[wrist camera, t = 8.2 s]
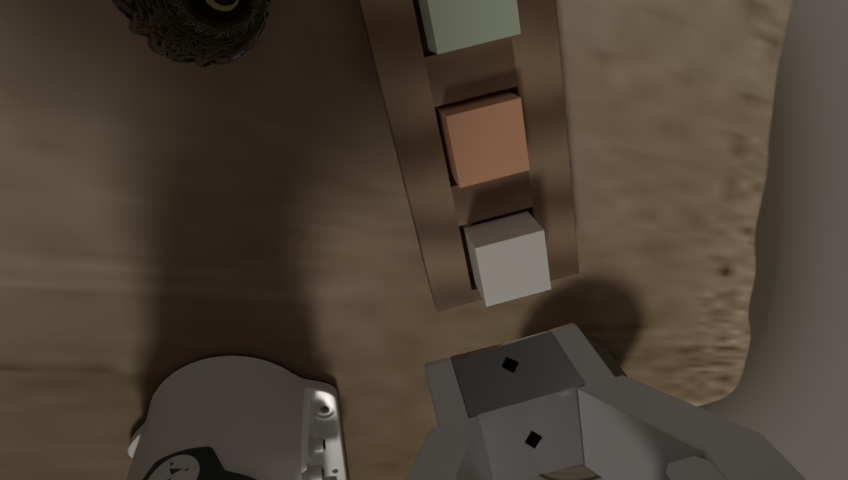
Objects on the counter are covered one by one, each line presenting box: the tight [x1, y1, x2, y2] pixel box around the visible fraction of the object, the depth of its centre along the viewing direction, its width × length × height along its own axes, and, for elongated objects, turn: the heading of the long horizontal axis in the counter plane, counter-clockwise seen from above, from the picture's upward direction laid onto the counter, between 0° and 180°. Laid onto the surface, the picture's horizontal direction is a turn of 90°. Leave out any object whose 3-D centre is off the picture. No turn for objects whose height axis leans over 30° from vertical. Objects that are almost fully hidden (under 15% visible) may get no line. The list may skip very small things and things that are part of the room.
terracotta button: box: [437, 89, 530, 188], centre depth 35 cm, size 5×5×4 cm
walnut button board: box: [358, 0, 579, 311], centre depth 36 cm, size 26×12×3 cm, turn 12°
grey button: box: [464, 211, 551, 307], centre depth 38 cm, size 5×5×4 cm
